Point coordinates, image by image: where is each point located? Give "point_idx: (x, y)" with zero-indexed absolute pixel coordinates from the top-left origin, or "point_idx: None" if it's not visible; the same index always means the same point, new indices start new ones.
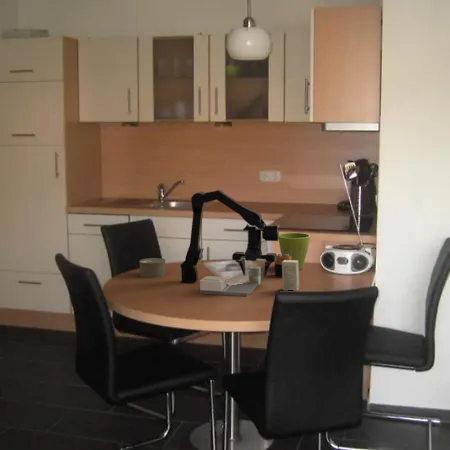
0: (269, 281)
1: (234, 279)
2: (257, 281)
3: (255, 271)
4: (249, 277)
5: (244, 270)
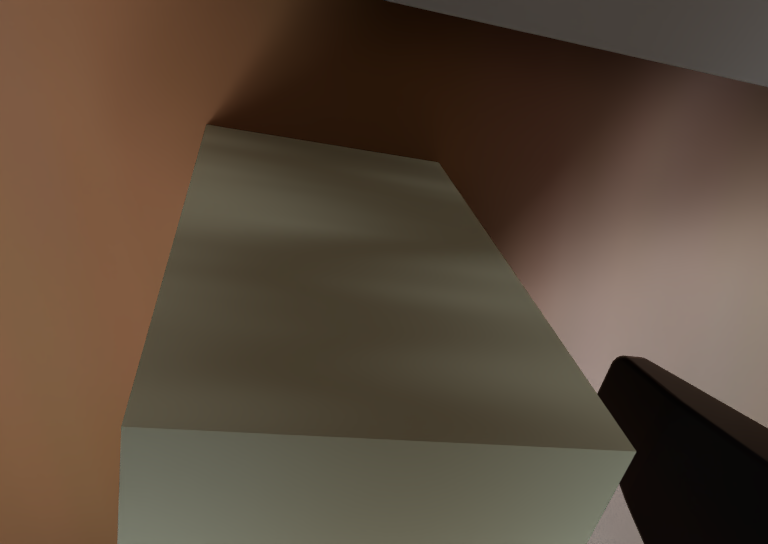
0: (7, 442)
1: None
2: (225, 158)
3: (296, 343)
4: (484, 241)
5: (703, 485)
